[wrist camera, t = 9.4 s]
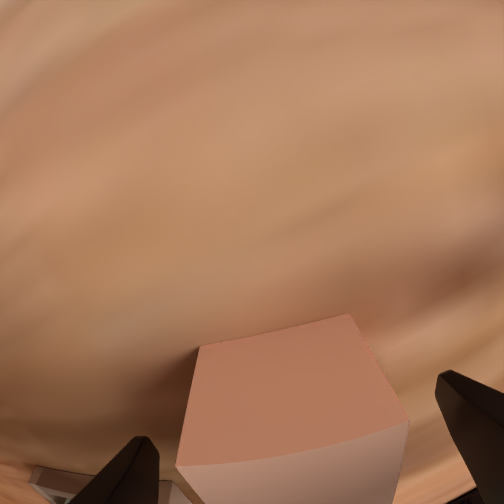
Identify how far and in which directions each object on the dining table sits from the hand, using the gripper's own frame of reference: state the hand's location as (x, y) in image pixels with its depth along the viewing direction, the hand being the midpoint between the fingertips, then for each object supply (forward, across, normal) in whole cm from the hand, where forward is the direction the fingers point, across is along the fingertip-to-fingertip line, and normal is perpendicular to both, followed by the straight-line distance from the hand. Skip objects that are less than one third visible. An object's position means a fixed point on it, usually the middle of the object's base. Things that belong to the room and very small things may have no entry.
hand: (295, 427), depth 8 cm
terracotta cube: (+2, 0, 0) cm, 2 cm away
